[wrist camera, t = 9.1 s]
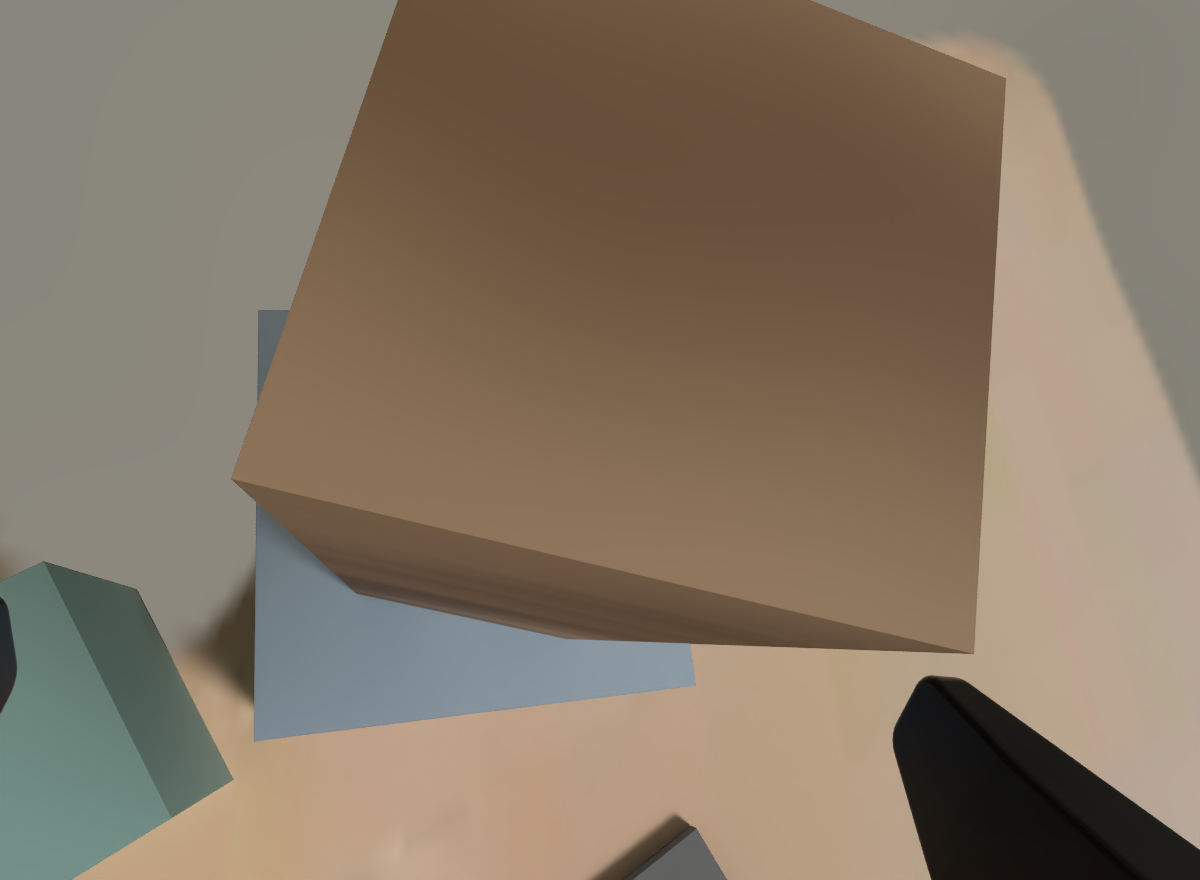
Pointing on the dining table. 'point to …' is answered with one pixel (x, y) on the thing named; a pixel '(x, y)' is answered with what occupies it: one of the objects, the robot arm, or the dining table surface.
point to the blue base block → (409, 645)
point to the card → (681, 861)
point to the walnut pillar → (650, 328)
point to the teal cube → (92, 727)
